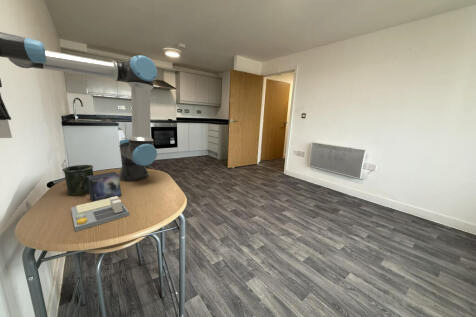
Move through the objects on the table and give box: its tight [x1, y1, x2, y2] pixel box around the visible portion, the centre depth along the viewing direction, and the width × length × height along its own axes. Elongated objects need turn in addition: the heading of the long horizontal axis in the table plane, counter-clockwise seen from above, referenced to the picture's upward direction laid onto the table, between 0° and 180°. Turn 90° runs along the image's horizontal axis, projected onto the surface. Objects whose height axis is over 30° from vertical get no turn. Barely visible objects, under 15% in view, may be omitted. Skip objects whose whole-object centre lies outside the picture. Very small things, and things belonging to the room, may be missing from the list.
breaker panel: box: [70, 198, 130, 232], centre depth 69 cm, size 15×18×2 cm
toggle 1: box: [110, 196, 120, 209], centre depth 69 cm, size 2×2×4 cm
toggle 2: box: [112, 198, 123, 213], centre depth 67 cm, size 2×2×4 cm
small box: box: [87, 171, 122, 202], centre depth 82 cm, size 11×6×10 cm, turn 140°
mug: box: [62, 164, 94, 197], centre depth 86 cm, size 11×15×12 cm
